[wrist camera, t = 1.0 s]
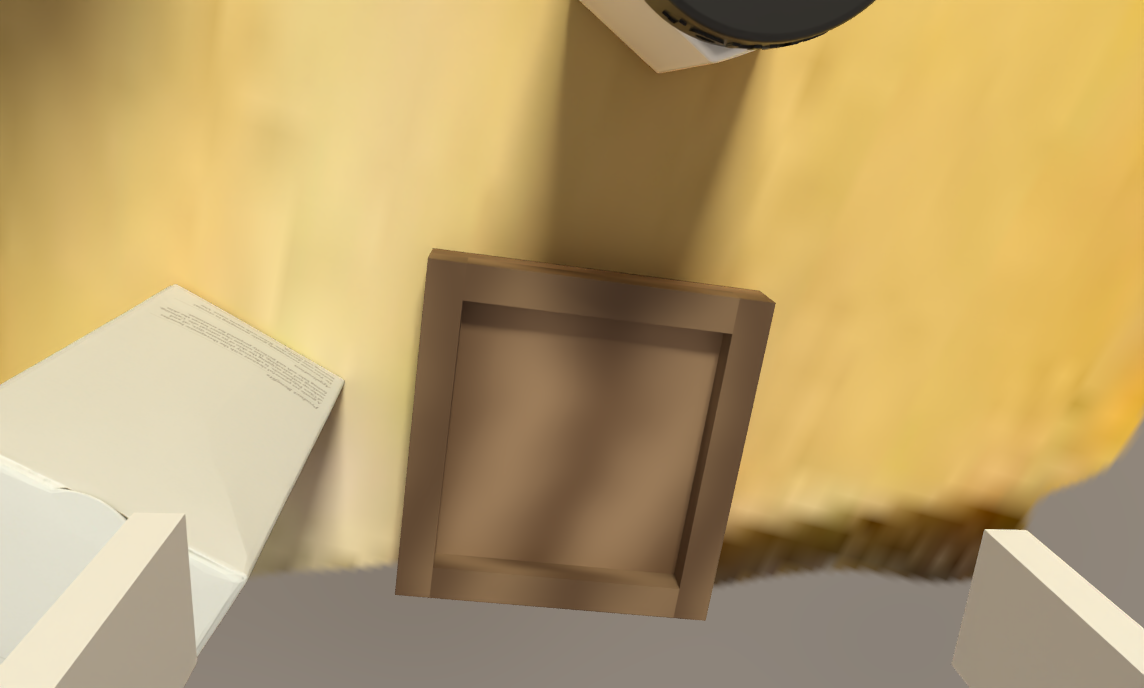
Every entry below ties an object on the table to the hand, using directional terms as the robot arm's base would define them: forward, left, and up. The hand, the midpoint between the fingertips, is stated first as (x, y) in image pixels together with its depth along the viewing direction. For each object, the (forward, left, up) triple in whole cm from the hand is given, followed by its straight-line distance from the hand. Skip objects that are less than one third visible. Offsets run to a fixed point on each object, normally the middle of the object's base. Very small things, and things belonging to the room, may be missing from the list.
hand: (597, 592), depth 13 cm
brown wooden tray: (+5, -4, -22) cm, 23 cm away
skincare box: (-8, -11, -22) cm, 26 cm away
